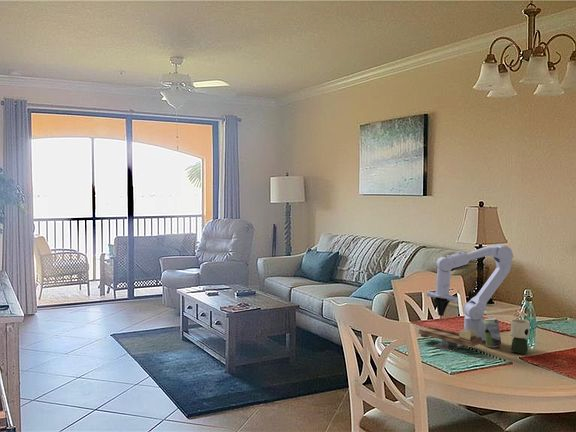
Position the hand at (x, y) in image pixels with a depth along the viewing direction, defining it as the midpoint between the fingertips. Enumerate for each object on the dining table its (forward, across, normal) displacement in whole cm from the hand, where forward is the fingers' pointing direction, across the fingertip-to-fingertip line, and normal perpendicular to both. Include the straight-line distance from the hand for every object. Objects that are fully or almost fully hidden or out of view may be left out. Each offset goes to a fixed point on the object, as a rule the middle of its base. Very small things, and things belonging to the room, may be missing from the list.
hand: (440, 315), depth 246 cm
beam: (+8, +9, -7) cm, 14 cm away
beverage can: (+10, +21, +6) cm, 24 cm away
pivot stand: (+10, +9, -7) cm, 16 cm away
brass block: (+6, +18, -8) cm, 20 cm away
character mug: (+9, +33, +6) cm, 35 cm away
